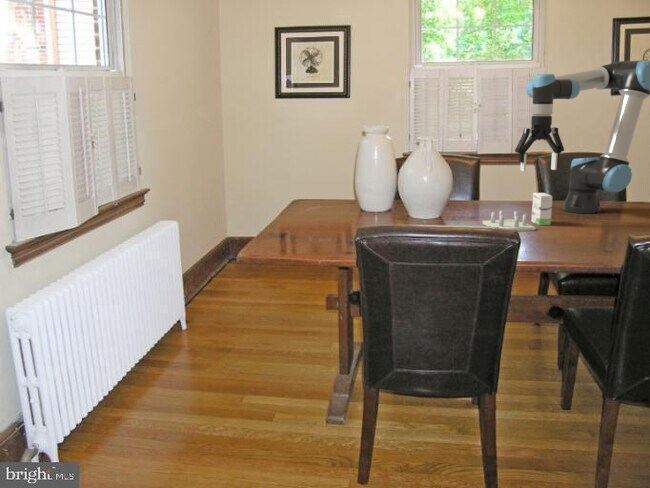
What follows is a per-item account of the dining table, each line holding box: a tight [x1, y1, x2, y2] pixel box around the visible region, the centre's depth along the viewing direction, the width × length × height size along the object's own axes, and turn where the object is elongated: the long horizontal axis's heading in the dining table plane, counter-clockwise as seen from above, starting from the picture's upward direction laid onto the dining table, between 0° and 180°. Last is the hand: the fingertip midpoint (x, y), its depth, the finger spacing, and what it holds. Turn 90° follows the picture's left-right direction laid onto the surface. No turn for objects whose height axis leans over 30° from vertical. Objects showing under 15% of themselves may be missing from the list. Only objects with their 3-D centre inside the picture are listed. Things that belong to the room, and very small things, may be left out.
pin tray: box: [482, 210, 536, 232], centre depth 271 cm, size 14×16×5 cm
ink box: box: [530, 192, 553, 226], centre depth 277 cm, size 9×5×12 cm, turn 6°
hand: (538, 170), depth 275 cm, fingers open, 13 cm apart
